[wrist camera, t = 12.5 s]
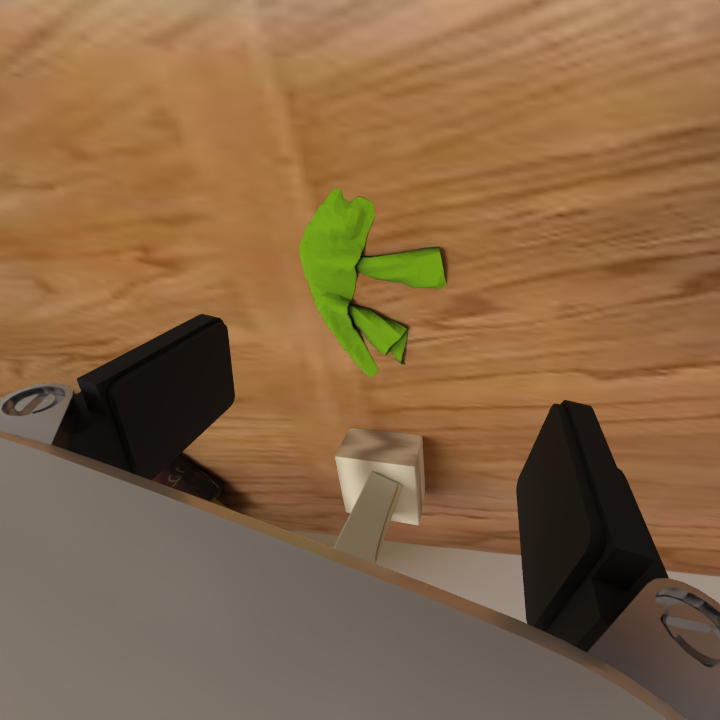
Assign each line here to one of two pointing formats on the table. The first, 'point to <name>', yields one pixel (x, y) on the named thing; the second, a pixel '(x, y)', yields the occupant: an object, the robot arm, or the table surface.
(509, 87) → the table surface
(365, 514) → the skincare box
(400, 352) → the cloth
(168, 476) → the packaged item
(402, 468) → the maple block
